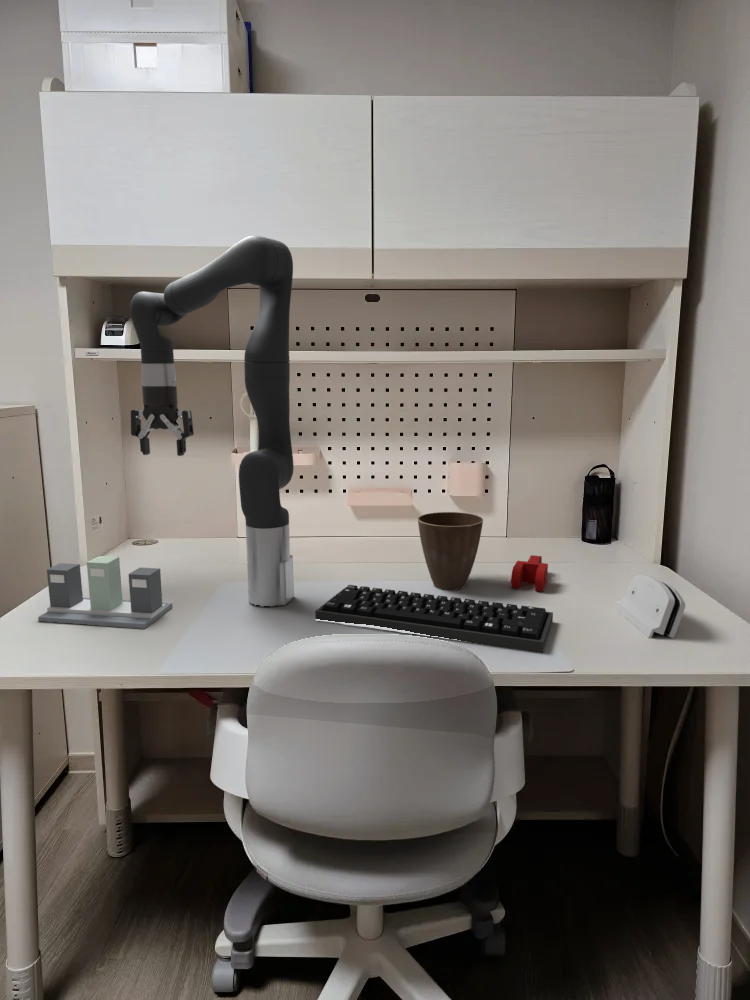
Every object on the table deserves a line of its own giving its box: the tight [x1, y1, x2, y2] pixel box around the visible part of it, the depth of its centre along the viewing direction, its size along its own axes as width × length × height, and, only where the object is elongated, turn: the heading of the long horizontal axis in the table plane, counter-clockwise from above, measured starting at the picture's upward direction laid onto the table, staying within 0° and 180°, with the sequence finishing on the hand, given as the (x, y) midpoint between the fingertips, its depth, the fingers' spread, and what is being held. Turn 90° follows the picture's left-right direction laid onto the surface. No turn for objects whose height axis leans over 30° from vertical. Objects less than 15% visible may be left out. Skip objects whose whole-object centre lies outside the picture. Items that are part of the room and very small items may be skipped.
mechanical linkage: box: [510, 554, 549, 592], centre depth 163 cm, size 16×7×5 cm, turn 159°
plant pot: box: [417, 511, 484, 591], centre depth 159 cm, size 15×15×16 cm
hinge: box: [613, 574, 686, 639], centre depth 137 cm, size 17×5×10 cm, turn 5°
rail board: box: [37, 562, 173, 630], centre depth 141 cm, size 23×12×10 cm, turn 80°
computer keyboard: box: [314, 584, 554, 654], centre depth 138 cm, size 45×16×4 cm, turn 70°
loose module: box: [86, 555, 124, 611], centre depth 141 cm, size 4×5×10 cm
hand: (163, 455), depth 159 cm, fingers open, 8 cm apart
